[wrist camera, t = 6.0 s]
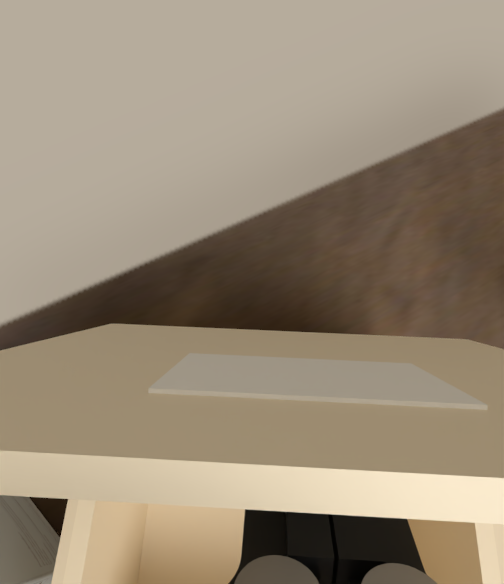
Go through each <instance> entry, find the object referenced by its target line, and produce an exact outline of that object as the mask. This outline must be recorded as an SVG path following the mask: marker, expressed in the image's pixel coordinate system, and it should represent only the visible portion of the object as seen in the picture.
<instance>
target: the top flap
mask: <svg viewBox="0 0 504 584" xmlns="http://www.w3.org/2000/svg"><path fill="white" fill-rule="evenodd" d="M0 495H8V496H25V497H42V498H59V499H76V500H94V501H111V502H128V503H145V504H162V505H179V506H196V507H213V508H231V509H248V510H265V511H282V512H299V513H316V514H333V515H350V516H368V517H385V518H402V519H419V520H436V521H453V522H470V523H487V524H504V349H501V348H497V347H494V346H490V345H486V344H482V343H479V342H475V341H471V340H468V339H449V338H426V337H404V336H381V335H359V334H336V333H314V332H291V331H269V330H247V329H224V328H202V327H179V326H157V325H134V324H108V325H104V326H99V327H95V328H91V329H87V330H83V331H79V332H75V333H71V334H66V335H62V336H58V337H54V338H50V339H46V340H42V341H38V342H33V343H29V344H25V345H21V346H17V347H13V348H9V349H5V350H0Z"/></svg>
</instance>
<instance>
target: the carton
mask: <svg viewBox="0 0 504 584" xmlns="http://www.w3.org/2000/svg"><path fill="white" fill-rule="evenodd" d="M244 516H245V509H231V508H213V507H196V506H179V505H162V504H145V503H128V502H111V501H94V500H76V499H68V502H67V507H66V512H65V517H64V522H63V527H62V532H61V537H60V542H59V547H58V552H57V557H56V562H55V567H54V572H53V577H52V582H51V584H228V583H229V582H230V581H231V580H232V578H233V577H234V576H235V574H236V572H237V570H238V567H239V565H240V561H241V553H242V541H243V528H244ZM407 520H408V523H409V526H410V529H411V532H412V535H413V538H414V541H415V544H416V547H417V550H418V552H419V555H420V558H421V561H422V564H423V567H424V570H425V572H426V574H427V575H428V576H429V577H430V578H432V579H433V580H434V581H435V582H436V583H437V584H504V524H487V523H470V522H453V521H436V520H419V519H407Z"/></svg>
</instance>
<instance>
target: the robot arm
mask: <svg viewBox="0 0 504 584" xmlns="http://www.w3.org/2000/svg"><path fill="white" fill-rule="evenodd" d="M228 584H437V583H436V582H435V581H434V580H433V579H432V578H430V577H429V576H428V575H427V574H426V572H425V570H424V567H423V564H422V561H421V558H420V555H419V552H418V550H417V547H416V544H415V541H414V538H413V535H412V532H411V529H410V526H409V523H408V520H407V519H402V518H385V517H368V516H350V515H333V514H316V513H299V512H282V511H265V510H248V509H245V516H244V528H243V541H242V553H241V561H240V565H239V567H238V570H237V572H236V574H235V576H234V577H233V578H232V580H231V581H230V582H229V583H228Z"/></svg>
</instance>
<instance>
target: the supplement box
mask: <svg viewBox="0 0 504 584" xmlns="http://www.w3.org/2000/svg"><path fill="white" fill-rule="evenodd" d="M59 542H60V537H59V536H58V535H57V533H56V532H55V531H54V529H53V528H52V527H51V525H50V524H49V523H48V521H47V520H46V519H45V518H44V516H43V515H42V514H41V512H40V511H39V510H38V508H37V507H36V506H35V504H34V503H33V502H32V500H31V499H30V498H29V497H25V496H8V495H0V584H51V582H52V577H53V572H54V567H55V562H56V557H57V552H58V547H59Z"/></svg>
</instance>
